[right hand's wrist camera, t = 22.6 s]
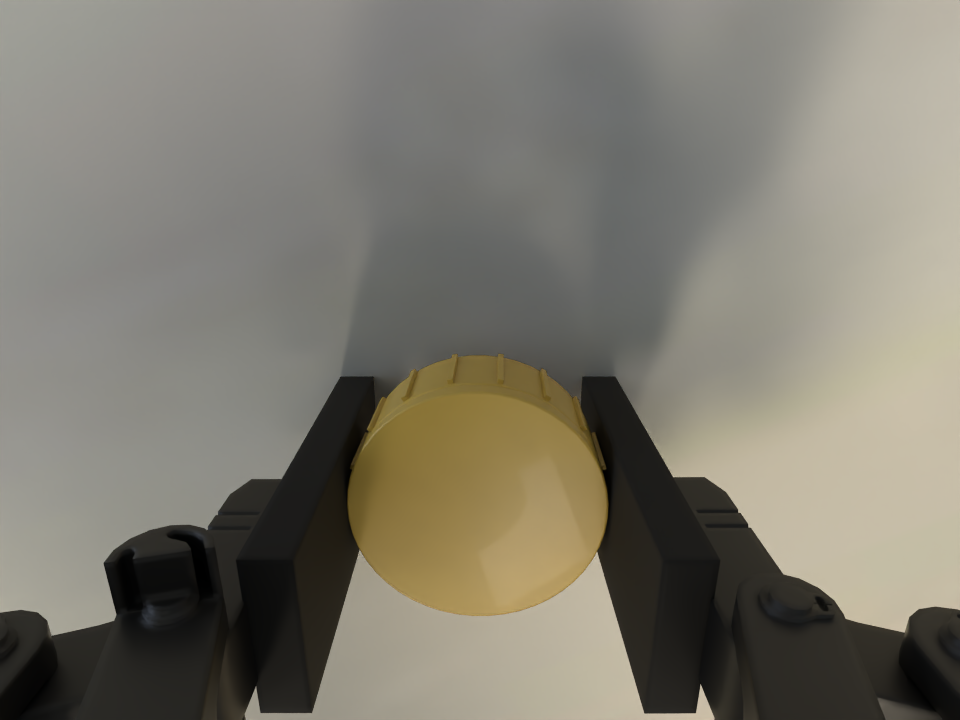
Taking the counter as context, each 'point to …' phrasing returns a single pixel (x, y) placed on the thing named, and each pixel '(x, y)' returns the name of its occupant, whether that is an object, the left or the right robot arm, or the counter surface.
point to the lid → (478, 487)
